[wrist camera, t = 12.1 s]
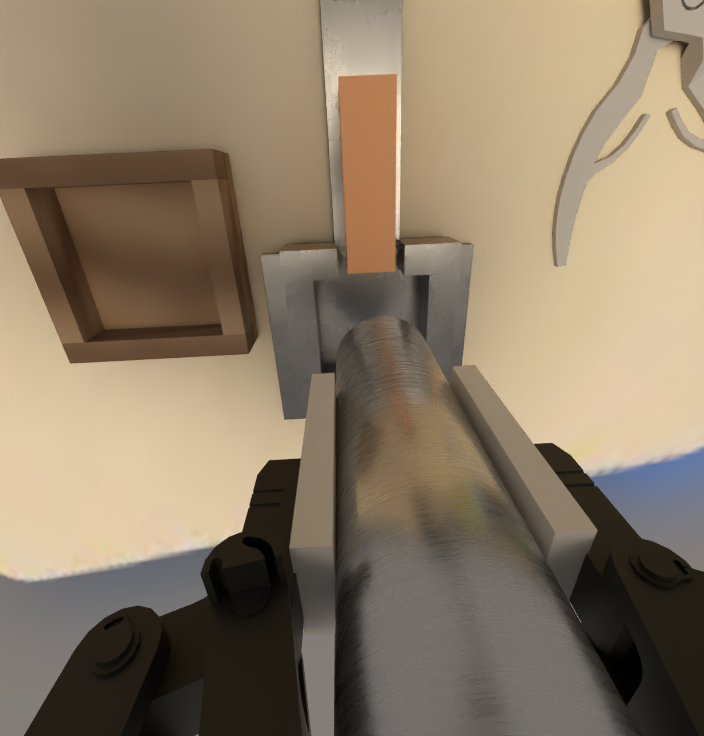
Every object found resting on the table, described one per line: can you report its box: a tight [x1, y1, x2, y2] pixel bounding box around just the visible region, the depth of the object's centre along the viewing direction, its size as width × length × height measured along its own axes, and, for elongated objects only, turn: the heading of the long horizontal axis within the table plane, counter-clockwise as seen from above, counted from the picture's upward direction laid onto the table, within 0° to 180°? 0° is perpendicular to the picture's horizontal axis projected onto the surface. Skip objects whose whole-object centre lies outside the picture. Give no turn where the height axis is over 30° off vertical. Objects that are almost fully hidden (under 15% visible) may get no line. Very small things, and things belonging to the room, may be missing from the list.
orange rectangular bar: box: [338, 74, 397, 274], centre depth 18 cm, size 8×2×2 cm, turn 3°
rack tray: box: [0, 149, 258, 363], centre depth 20 cm, size 10×10×3 cm
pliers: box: [552, 0, 704, 267], centre depth 18 cm, size 10×2×15 cm
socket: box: [260, 0, 473, 420], centre depth 20 cm, size 23×12×3 cm, turn 3°
